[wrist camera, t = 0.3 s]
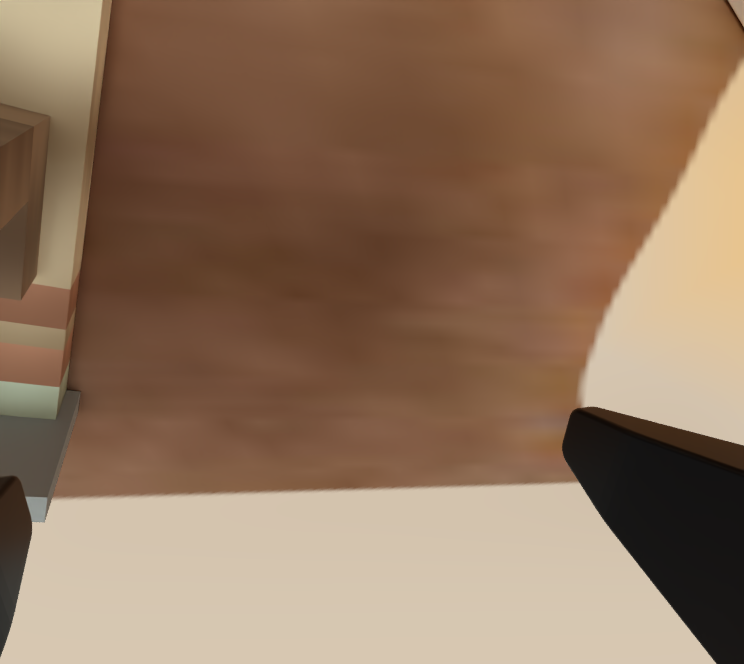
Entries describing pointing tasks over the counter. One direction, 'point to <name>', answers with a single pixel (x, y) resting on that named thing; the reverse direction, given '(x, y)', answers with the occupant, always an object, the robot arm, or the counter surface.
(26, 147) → the bookend block
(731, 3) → the jar
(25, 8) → the board
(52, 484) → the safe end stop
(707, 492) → the robot arm
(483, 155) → the counter surface
